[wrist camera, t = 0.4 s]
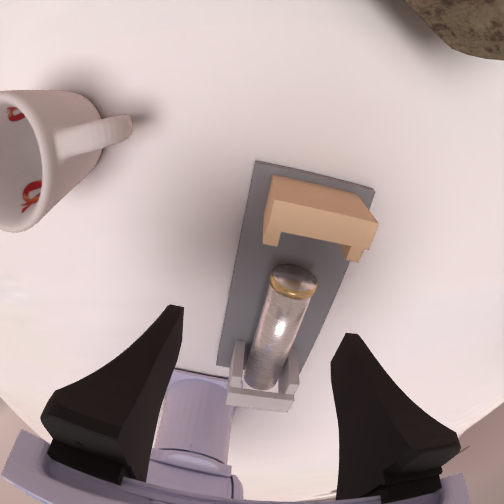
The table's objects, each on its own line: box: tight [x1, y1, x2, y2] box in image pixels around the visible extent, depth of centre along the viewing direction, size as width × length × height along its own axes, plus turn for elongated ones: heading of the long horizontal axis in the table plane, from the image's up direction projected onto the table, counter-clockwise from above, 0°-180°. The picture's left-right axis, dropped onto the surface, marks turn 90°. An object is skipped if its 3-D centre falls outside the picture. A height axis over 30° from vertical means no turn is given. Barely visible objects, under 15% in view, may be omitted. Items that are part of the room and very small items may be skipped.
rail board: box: [216, 161, 379, 412], centre depth 22 cm, size 19×8×5 cm, turn 169°
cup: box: [0, 90, 133, 233], centre depth 15 cm, size 11×8×8 cm
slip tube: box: [244, 264, 318, 390], centre depth 23 cm, size 11×3×3 cm, turn 169°
